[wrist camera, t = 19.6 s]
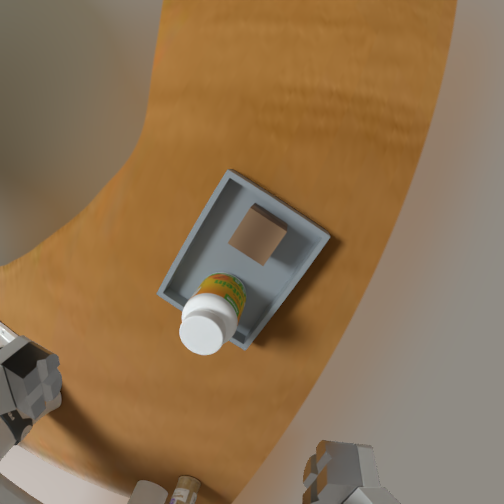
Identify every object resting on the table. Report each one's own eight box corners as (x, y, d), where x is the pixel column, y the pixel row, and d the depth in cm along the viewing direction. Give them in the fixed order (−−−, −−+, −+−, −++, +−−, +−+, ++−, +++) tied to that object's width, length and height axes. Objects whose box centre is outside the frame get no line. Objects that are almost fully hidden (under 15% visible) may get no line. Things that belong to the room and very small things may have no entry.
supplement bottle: (256, 289, 35) (244, 333, 26) (230, 322, 37) (211, 371, 27) (216, 261, 35) (189, 296, 26) (192, 296, 36) (161, 338, 27)
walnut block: (234, 234, 34) (227, 243, 30) (255, 202, 33) (250, 207, 29) (266, 254, 34) (263, 266, 30) (287, 223, 33) (286, 231, 29)
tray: (163, 286, 37) (156, 294, 35) (232, 168, 32) (227, 169, 30) (248, 339, 38) (245, 350, 35) (328, 231, 33) (330, 236, 31)
